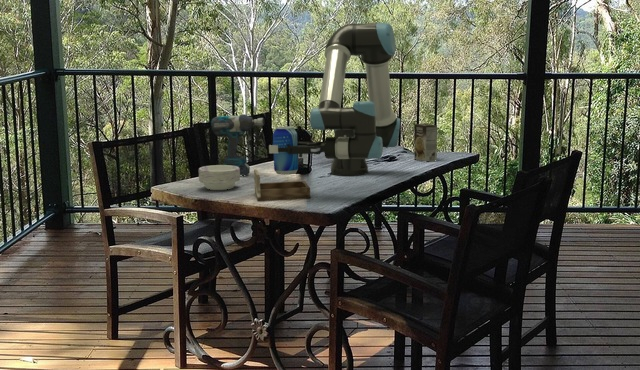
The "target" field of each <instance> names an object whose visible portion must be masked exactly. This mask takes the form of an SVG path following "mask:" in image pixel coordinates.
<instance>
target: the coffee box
mask: <svg viewBox="0 0 640 370" xmlns="http://www.w3.org/2000/svg"><path fill="white" fill-rule="evenodd" d="M413 125H414V129H413V130H414V135H413V136H414V140H413V142H414V145H413V146H414V160H415V159H416V160H415V161H418V160H421V161H420V162H422V161H433V162H436V161H435V160H438V159H437V158H438V157H437V156H438V154H437V153H438V125H437V124H431V123H415V124H413Z"/></svg>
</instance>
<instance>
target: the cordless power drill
mask: <svg viewBox="0 0 640 370" xmlns="http://www.w3.org/2000/svg"><path fill="white" fill-rule="evenodd" d="M264 125H265V118H264V117H258V118H257V119H256V118H255V119H254V118H253V117H252V116H249V115H247V114H243V113H242V114H239V115H221V116H214V117H213V118H212V119H211V120H210V127H211V131H212V132H213V134H214V136H216V137H217V138H221V137H227V138H228V140H227V155H226V156H225V157H224V158H223V159H224V160H223V165H231V166H237V167H239V168H240V175H242V176H243V177H245V176H244V175H246V176H247V175H249V174H250V169H251V168H250V165H249V164H248V163H247V158H245V157H244V156H239V155H238V154H237V149H238V145H239V142H241V141H242V140H243V139H242V135H245V133H246V132H248V131H250V130H252V129H254V127H259V128H262V127H263V126H264Z"/></svg>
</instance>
